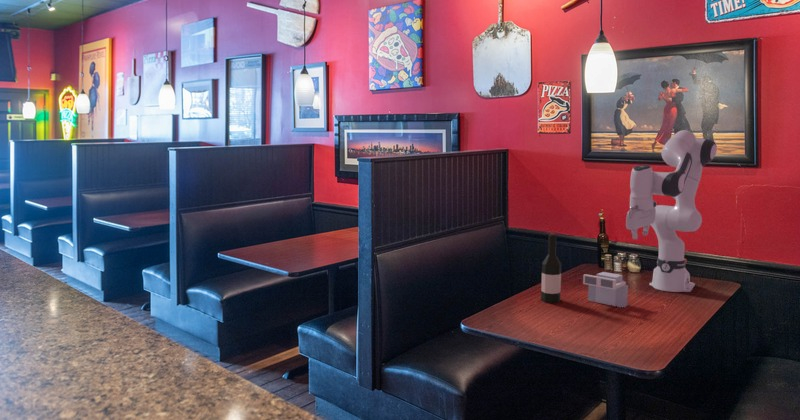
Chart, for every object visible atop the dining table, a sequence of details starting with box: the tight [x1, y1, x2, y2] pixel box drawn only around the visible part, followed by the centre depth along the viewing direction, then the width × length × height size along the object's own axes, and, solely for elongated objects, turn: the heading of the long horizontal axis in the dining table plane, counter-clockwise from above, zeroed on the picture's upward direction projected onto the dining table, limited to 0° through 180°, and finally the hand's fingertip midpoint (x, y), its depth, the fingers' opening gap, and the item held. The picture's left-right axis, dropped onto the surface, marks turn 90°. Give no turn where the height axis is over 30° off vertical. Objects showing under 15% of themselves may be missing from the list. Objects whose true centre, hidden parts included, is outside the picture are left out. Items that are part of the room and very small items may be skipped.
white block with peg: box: [587, 271, 629, 309], centre depth 261 cm, size 13×16×12 cm
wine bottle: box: [540, 232, 562, 304], centre depth 266 cm, size 8×8×30 cm
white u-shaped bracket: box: [582, 273, 627, 290], centre depth 260 cm, size 10×14×4 cm
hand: (640, 237), depth 255 cm, fingers open, 8 cm apart
